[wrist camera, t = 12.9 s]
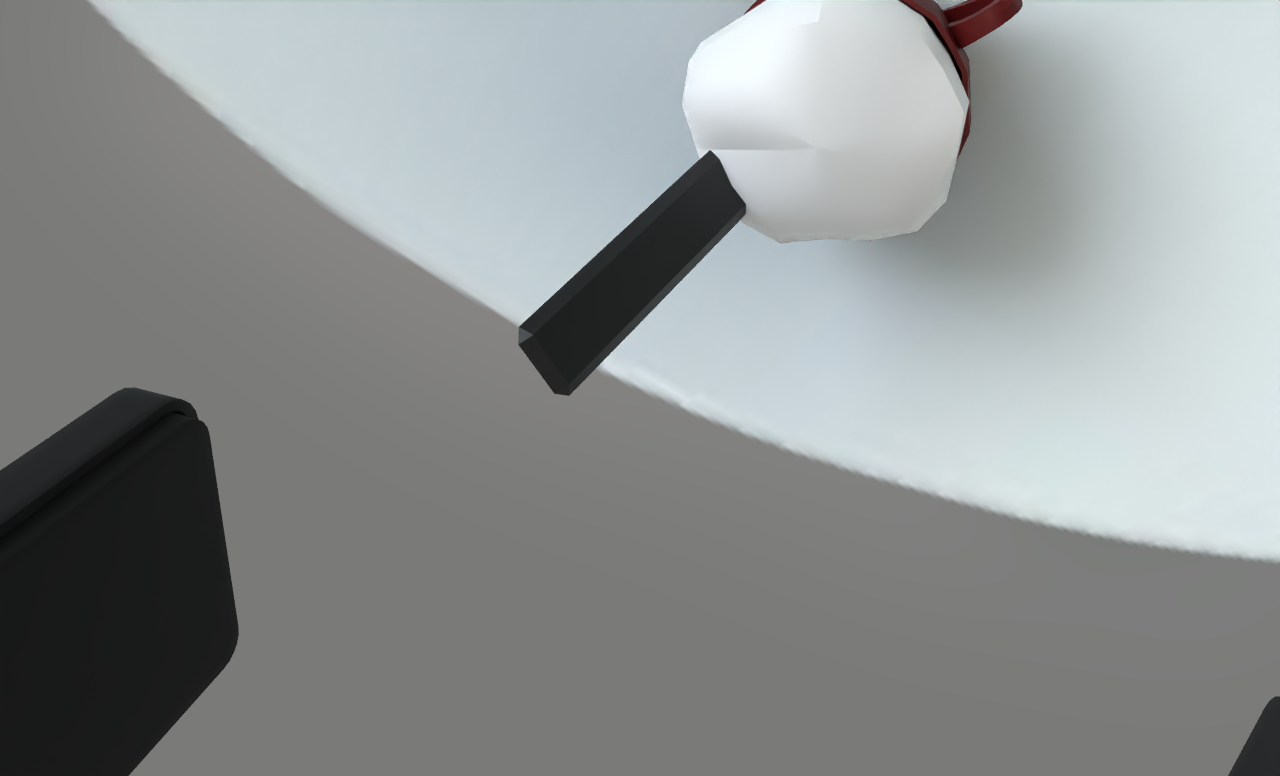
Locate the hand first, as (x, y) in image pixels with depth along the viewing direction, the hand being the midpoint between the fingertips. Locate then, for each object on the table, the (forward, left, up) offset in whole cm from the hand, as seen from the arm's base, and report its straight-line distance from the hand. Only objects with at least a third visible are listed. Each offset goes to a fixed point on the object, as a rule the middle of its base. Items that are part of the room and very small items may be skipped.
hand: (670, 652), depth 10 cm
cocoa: (-2, 0, -22) cm, 22 cm away
